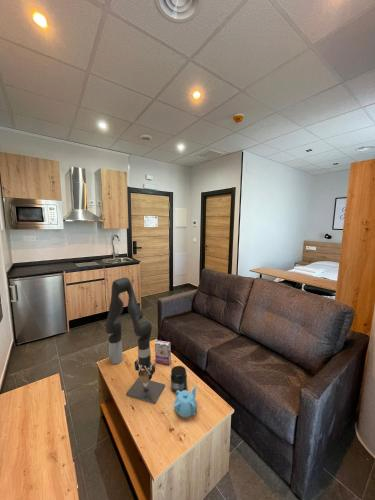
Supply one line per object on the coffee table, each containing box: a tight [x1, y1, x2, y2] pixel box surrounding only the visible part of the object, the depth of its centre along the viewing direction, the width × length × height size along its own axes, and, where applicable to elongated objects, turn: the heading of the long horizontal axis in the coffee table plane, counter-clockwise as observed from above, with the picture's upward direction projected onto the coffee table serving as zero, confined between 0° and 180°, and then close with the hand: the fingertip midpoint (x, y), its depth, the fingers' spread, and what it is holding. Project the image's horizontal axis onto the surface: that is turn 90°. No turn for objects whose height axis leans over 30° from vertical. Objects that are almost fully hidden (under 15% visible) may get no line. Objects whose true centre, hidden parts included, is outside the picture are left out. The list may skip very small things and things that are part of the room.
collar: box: [139, 369, 151, 383], centre depth 132 cm, size 6×6×4 cm
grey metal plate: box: [125, 376, 166, 405], centre depth 133 cm, size 20×14×6 cm
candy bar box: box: [154, 339, 172, 366], centre depth 159 cm, size 11×5×16 cm, turn 73°
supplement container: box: [170, 365, 188, 393], centre depth 135 cm, size 10×10×12 cm
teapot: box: [173, 384, 198, 420], centre depth 119 cm, size 13×14×11 cm
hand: (145, 377), depth 133 cm, fingers closed on collar, 6 cm apart
